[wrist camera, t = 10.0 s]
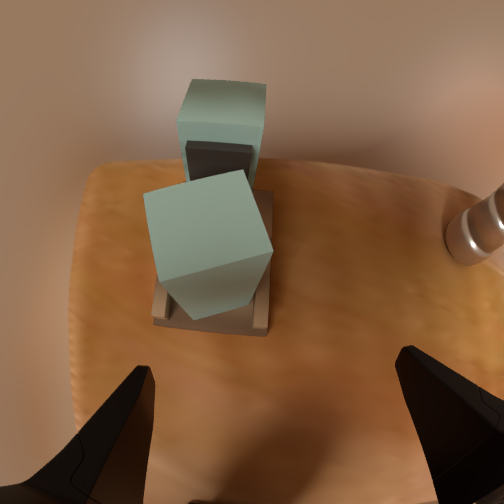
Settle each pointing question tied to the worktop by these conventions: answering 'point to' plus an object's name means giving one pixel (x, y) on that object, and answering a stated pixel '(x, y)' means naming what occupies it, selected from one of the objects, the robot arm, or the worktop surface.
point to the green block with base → (214, 163)
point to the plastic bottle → (477, 230)
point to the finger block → (208, 242)
